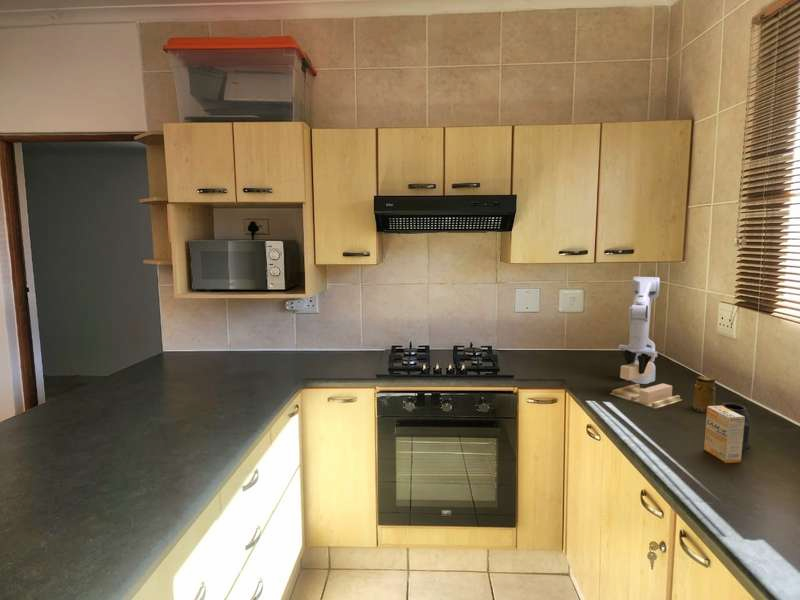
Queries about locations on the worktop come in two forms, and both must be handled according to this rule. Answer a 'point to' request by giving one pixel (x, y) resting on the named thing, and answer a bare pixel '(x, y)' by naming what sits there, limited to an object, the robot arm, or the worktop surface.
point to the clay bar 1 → (634, 371)
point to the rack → (633, 395)
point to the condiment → (704, 393)
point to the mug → (743, 412)
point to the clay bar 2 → (655, 393)
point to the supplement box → (724, 433)
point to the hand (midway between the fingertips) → (636, 372)
